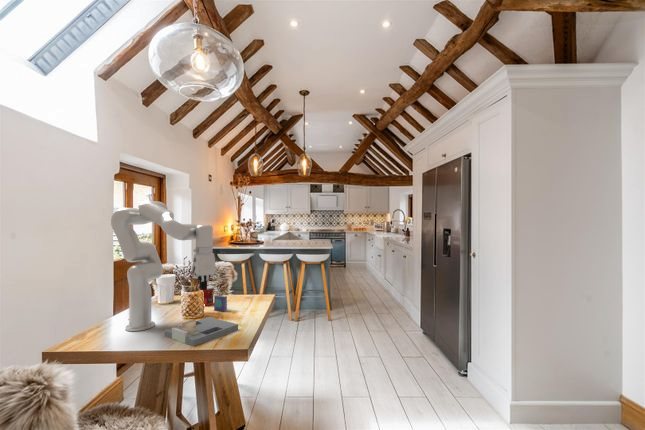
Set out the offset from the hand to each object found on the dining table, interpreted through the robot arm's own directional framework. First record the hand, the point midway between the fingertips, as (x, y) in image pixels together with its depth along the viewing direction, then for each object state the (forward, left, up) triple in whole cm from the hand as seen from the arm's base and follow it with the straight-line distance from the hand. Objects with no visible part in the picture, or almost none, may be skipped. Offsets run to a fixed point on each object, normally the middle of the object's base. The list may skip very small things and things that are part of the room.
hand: (203, 289), depth 148 cm
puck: (+2, -9, -18) cm, 20 cm away
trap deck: (0, -1, -20) cm, 20 cm away
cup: (-67, +20, -20) cm, 73 cm away
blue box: (-22, +27, -20) cm, 40 cm away
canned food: (-40, +31, -20) cm, 55 cm away
